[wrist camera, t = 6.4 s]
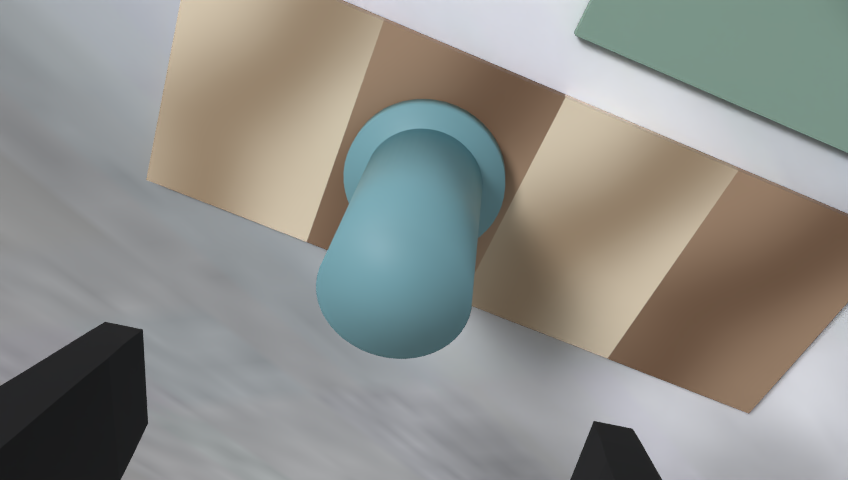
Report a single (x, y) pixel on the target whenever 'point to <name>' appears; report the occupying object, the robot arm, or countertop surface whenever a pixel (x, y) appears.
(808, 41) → the felt pad
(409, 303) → the pawn
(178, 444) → the countertop surface
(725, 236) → the track
